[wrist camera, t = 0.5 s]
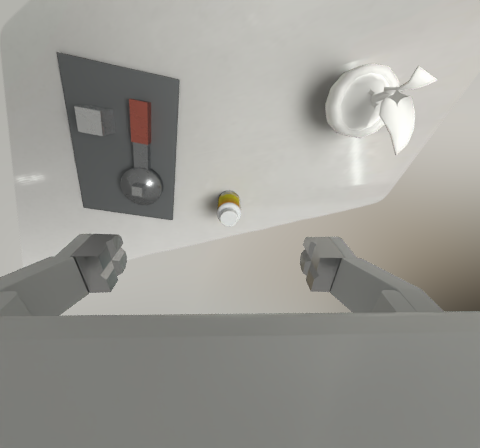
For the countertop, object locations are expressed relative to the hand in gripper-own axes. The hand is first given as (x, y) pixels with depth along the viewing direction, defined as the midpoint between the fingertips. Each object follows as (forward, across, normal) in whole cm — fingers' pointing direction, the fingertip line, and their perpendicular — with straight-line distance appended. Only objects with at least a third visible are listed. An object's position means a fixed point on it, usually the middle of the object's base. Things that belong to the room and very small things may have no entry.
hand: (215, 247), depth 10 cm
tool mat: (+44, +22, +6) cm, 50 cm away
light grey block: (+44, +26, -1) cm, 51 cm away
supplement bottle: (+45, -1, +17) cm, 48 cm away
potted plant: (+45, -25, -6) cm, 51 cm away
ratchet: (+44, +19, +6) cm, 48 cm away
